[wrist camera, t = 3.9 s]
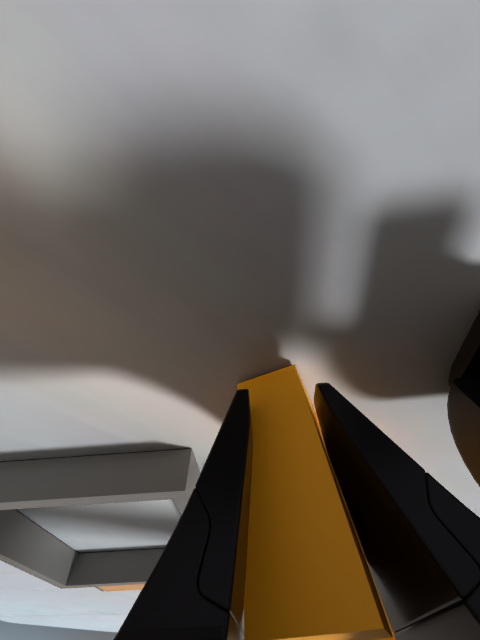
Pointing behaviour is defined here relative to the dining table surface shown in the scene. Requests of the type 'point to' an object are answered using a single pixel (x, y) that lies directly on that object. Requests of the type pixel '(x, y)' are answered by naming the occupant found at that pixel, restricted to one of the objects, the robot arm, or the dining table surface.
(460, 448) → the end cap
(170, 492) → the gray rectangular frame
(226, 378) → the dining table surface
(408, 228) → the dining table surface
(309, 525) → the pipe clamp
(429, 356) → the dining table surface
